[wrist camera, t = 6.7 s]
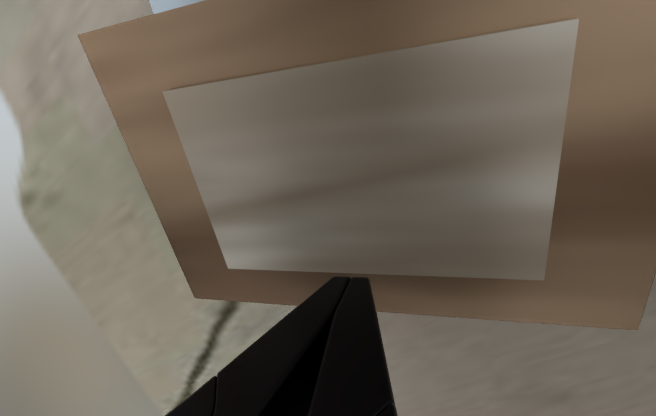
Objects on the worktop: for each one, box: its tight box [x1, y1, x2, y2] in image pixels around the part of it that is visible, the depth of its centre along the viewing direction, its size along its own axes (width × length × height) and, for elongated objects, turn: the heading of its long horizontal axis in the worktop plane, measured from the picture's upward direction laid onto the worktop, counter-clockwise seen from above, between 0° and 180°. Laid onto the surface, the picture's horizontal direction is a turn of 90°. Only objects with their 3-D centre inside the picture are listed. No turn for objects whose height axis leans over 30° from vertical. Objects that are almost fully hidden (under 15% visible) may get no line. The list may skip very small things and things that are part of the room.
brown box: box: [78, 0, 656, 330], centre depth 9 cm, size 4×12×8 cm
